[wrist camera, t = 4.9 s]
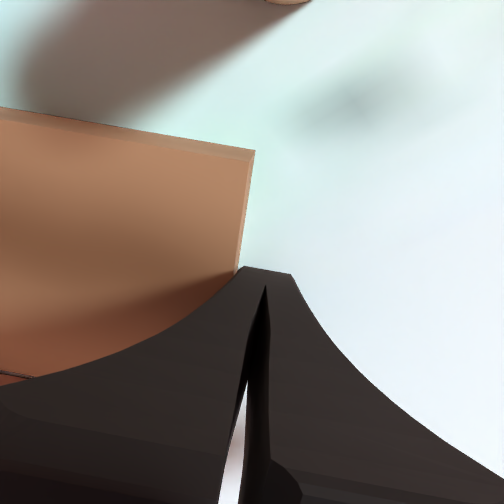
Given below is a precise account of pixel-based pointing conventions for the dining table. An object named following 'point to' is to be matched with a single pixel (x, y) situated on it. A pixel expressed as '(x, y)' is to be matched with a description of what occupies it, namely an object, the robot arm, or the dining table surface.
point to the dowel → (286, 1)
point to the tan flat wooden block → (108, 235)
